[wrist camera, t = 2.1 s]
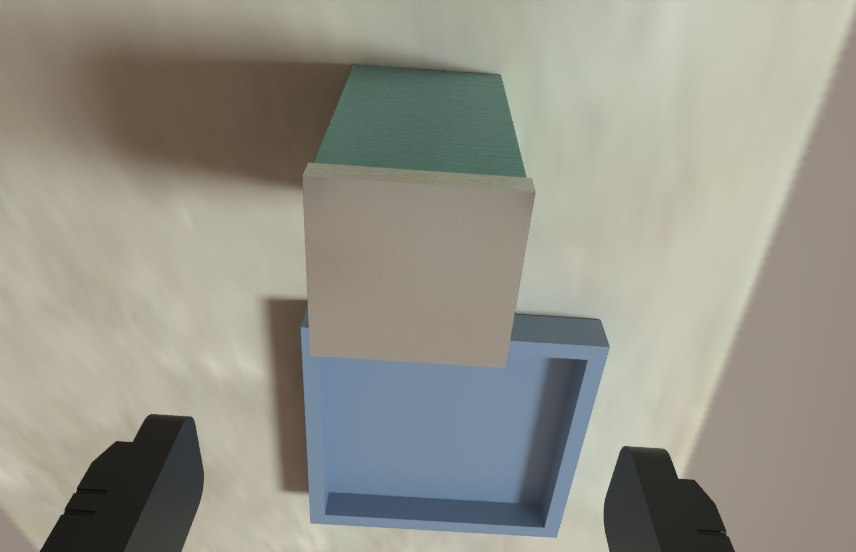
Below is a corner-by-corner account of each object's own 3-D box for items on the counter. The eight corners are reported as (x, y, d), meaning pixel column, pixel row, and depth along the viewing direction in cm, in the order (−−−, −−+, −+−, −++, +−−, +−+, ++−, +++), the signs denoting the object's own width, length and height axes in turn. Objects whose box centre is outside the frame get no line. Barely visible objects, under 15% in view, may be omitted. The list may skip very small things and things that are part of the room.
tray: (316, 493, 38) (310, 523, 36) (308, 300, 30) (300, 327, 29) (551, 507, 38) (556, 537, 36) (600, 319, 31) (609, 347, 29)
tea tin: (351, 199, 28) (309, 355, 19) (351, 61, 24) (302, 175, 16) (486, 208, 28) (505, 368, 19) (503, 72, 25) (535, 191, 16)
